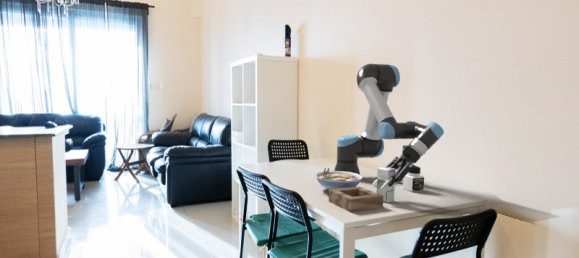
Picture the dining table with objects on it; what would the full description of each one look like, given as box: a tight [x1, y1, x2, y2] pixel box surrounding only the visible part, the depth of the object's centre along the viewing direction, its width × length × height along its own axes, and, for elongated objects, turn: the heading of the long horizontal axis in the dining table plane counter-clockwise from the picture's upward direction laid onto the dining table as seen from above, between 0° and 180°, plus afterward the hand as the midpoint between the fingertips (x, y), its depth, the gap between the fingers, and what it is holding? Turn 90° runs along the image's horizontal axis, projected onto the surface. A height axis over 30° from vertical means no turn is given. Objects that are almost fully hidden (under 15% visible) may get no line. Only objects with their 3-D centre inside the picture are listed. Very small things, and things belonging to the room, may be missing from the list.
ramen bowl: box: [314, 167, 364, 191], centre depth 172 cm, size 25×23×8 cm
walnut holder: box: [328, 186, 384, 213], centre depth 150 cm, size 16×16×5 cm
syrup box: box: [376, 166, 396, 204], centre depth 156 cm, size 6×6×14 cm
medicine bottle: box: [402, 165, 425, 193], centre depth 177 cm, size 7×7×12 cm
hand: (378, 188), depth 156 cm, fingers closed on syrup box, 7 cm apart
